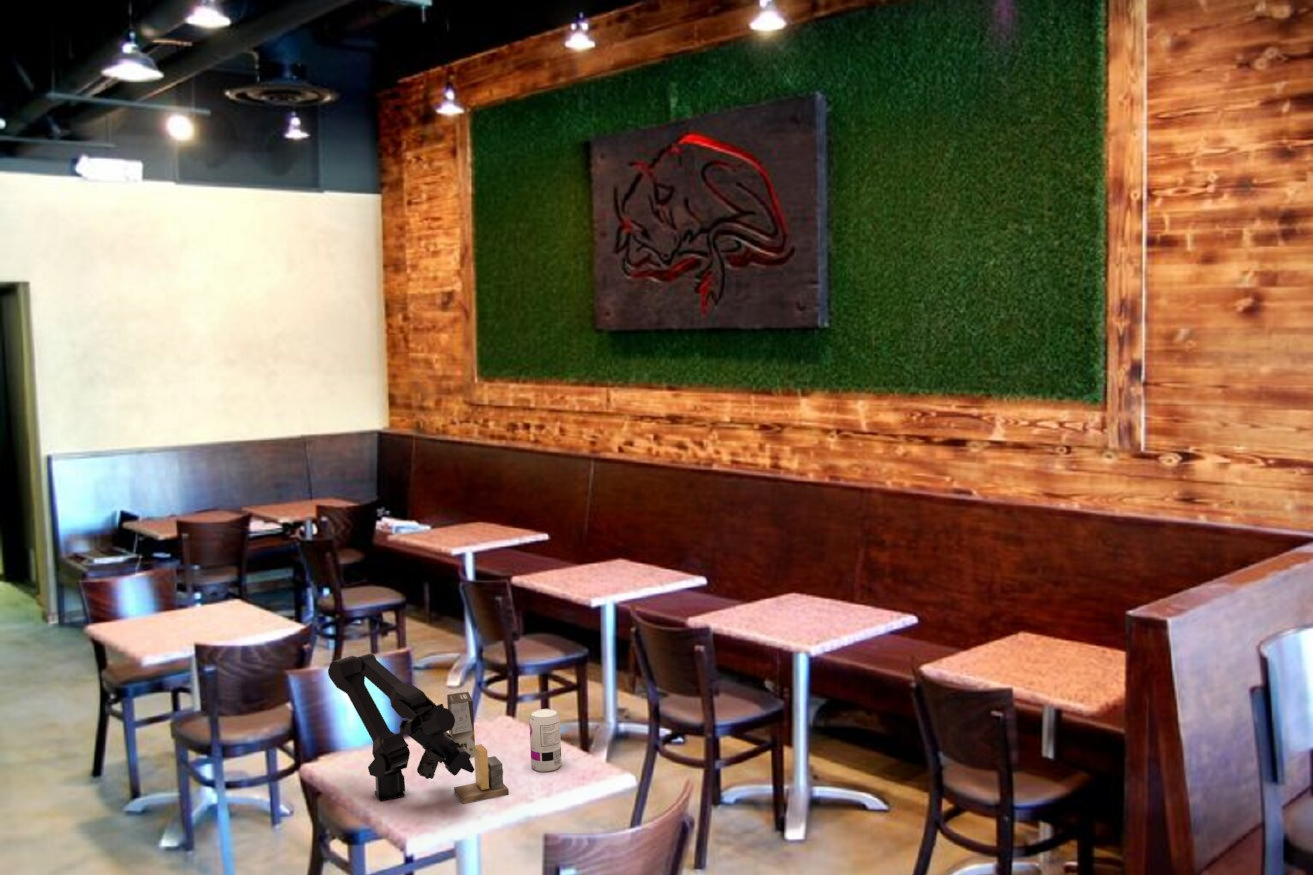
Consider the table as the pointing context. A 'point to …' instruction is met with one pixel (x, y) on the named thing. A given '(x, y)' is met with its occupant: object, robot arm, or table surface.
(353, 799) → the table surface
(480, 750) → the tan wooden tall block
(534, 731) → the supplement can
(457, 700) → the coffee box
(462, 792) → the peg insertion fixture
